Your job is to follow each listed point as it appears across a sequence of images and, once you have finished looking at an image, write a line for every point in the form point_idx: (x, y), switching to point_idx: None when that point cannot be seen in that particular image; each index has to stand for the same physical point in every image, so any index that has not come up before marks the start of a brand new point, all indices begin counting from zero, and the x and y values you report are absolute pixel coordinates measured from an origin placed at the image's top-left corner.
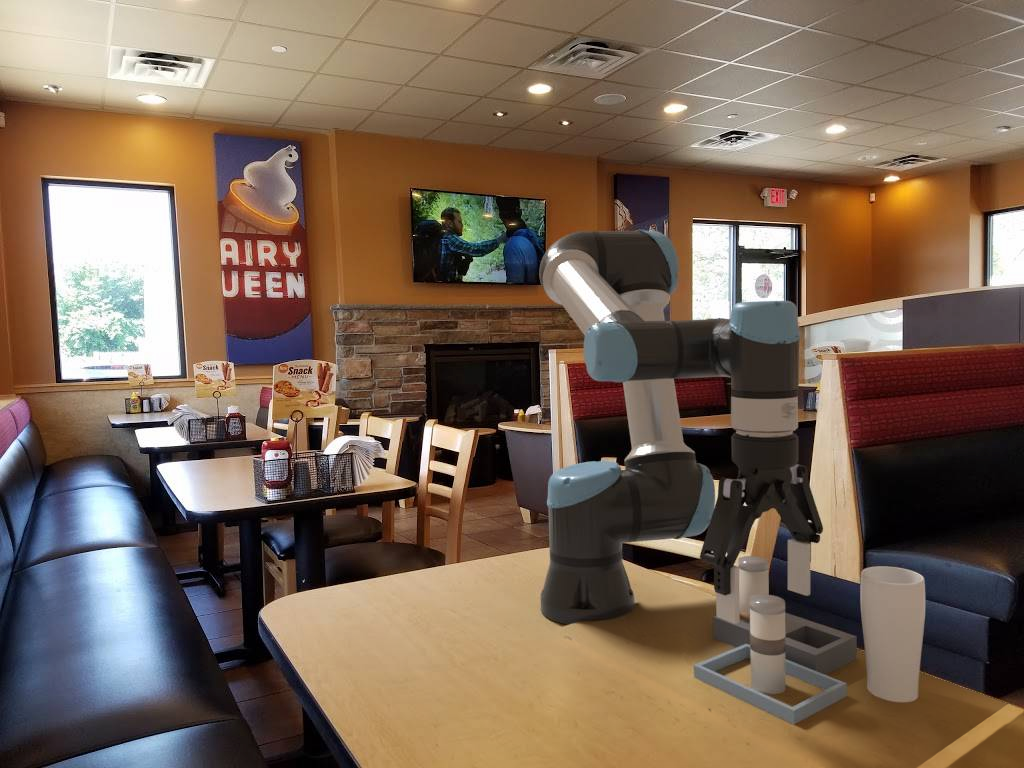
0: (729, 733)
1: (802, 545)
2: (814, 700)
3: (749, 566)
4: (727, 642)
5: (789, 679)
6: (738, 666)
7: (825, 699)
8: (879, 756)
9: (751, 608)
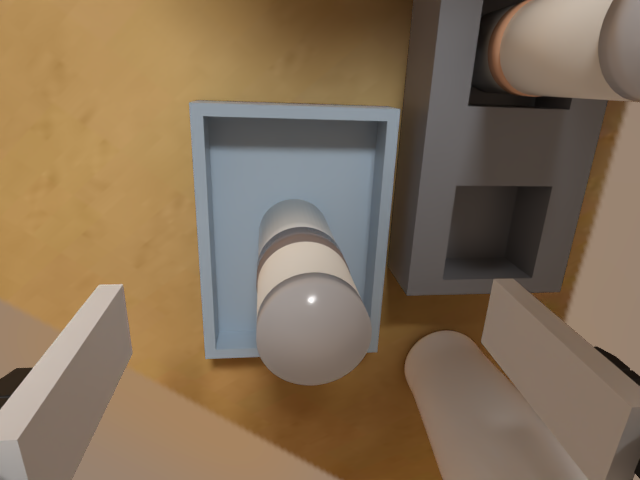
0: (110, 275)
1: (598, 469)
2: None
3: (615, 59)
4: (417, 27)
5: None
6: None
7: None
8: (260, 430)
9: (263, 301)
